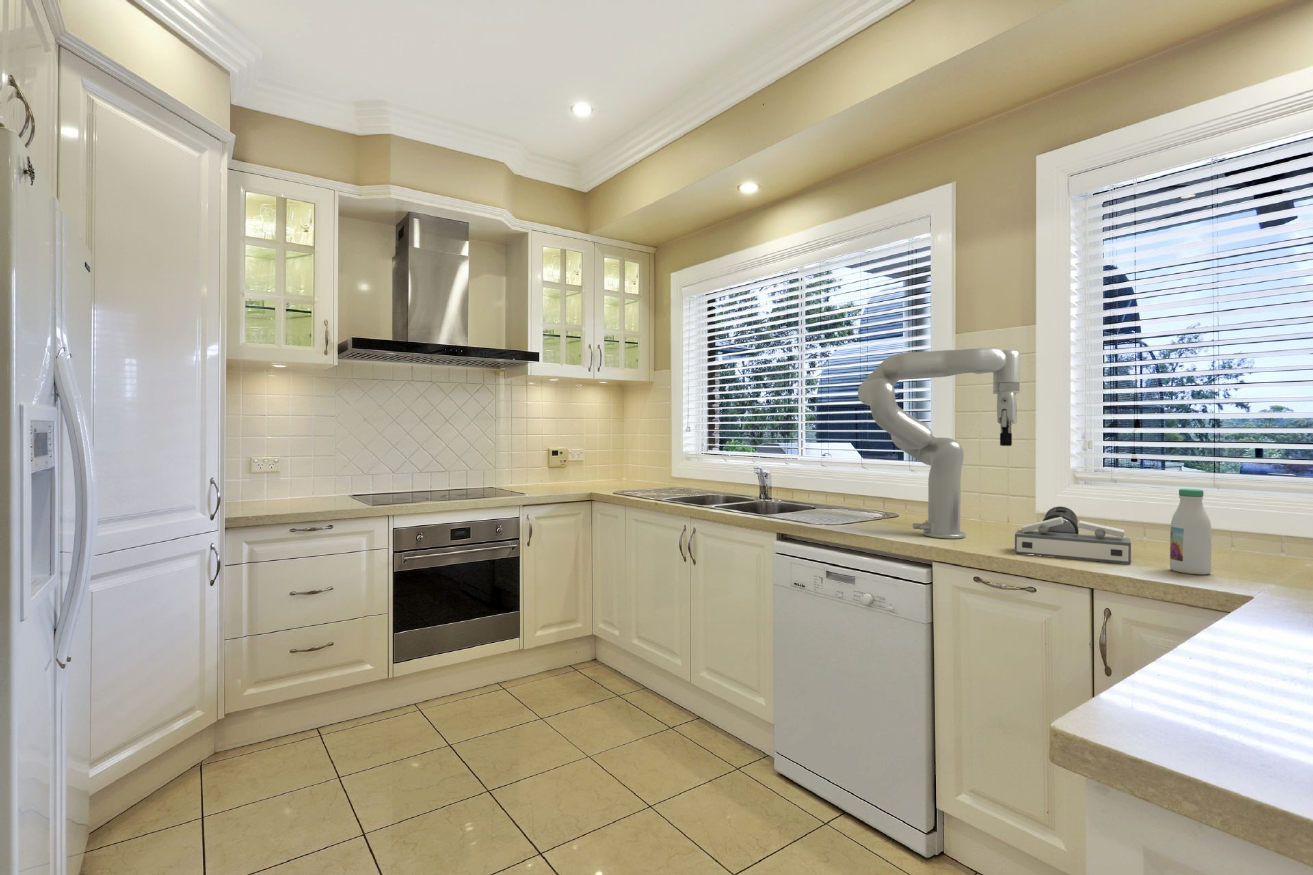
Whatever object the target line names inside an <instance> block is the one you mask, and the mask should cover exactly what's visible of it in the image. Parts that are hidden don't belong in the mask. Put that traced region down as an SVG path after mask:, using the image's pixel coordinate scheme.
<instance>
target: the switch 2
mask: <svg viewBox="0 0 1313 875" xmlns="http://www.w3.org/2000/svg"><path fill="white" fill-rule="evenodd" d="M1078 529H1082V530H1087V531H1092V532H1094V535H1095V536H1096V537H1098V538H1103V537H1104V536H1106V535H1110V536H1112V537H1122V538H1124V535H1125V530H1124V529H1121V528H1116V527H1112V526H1106V525H1102V524H1099V523H1098V524H1097V523H1094V522H1089V521H1084V520H1079V522H1078Z"/></svg>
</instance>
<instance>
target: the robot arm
mask: <svg viewBox="0 0 1313 875" xmlns="http://www.w3.org/2000/svg"><path fill="white" fill-rule="evenodd" d="M1020 356H1021V355H1020V353H1019V351H1017V350H1014V349H1003V350H1001V349H1000V348H998V347H979V348H965V349H946V350H945V349H944V350H931V351H912V352H901V353H896V354H892V355H890V356H888V357H886V358H885V359H884V360H883V361H882V362H881V363H880V364H879V365H878V366H877V367H876V368H875V369H874V370H873V371H872V372H871V373H870V374H869V375H868V376H867V377H866V378H865V379H864V380H863V381H862V382H861V384H860V385H859V387H858V390H857V397H858V399H859V401H860V402H861V403H862V404H864V405H865V406H869V408H870V412H871V415H872V419H873V420H874V422H875V423H876V424H877V426H879V428H880V429H882V430H884V431H885V432H886V433H888V434H889V435H890V437H891V438H890V439H891V441H892V442H893V444H894V445H895V446H896V447H897V448H898V449H900V450H902V452H905V453H906V454H908V455H909V456H910V457H913V458H914V459H915V460H917V461H918V462H920V463H922V464H924V465H927V466H929V467H930V469H929V472H928V482H927V484H928V485H927V487H928V488H927V489H928V490H927V491H928V496H927V498H928V499H927V500H928V501H927V502H928V507H927V509H928V511H927V513H928V514H927V515H928V518H927V519H928V520H927V519H926V520H925V521H923V522H922V523H919V522H913V523H912V529H913V530H922V534H923V535H924V536H926V537H931V538H937V539H949V540H950V539H952V540H954V539H964V538H965V537H967V536H966V535H967V534H966V532H964V531H961V481H962V480H961V477H962V467H963V464H964V463H963V462H964V449H963V447H962V445H961V444H960V443H959V442H958V441H957V440H955V439H953V438H949V437H935V436H934V435H933V431H932V430H931V428H930V427H929V426H928V425H927V424H926V423H925V422H923V421H921V420H919V419H917V418H916V417H914V416H913V415H911V414H909V413H908V412H906V411H905V410H903V409H902V408H901V407H900V406H899V405H898V402H897V401H896V391H895V385H896V384H897V383H898V382H899V381H901V380H912V379H913V380H914V379H915V380H916V379H929V378H930V379H931V378H945V377H952V376H956V375H962V374H971V373H973V374H977V375H978V374H979V375H983V374H989V373H992V378H993V379H992V380H993V381H992V394H994V395H996V417H997V418H996V419H997V421H996V422H997V423H998V424H999V425H1000V432H999V446H1000V447H1002V446H1003V447H1011V446H1013V433H1012V426H1013V425H1012V424H1015V425H1016V424H1017V423H1018V416H1017V415H1018V414H1017V412H1018V407H1017V406H1018V405H1017V394H1020V392H1021V391H1020V388H1021V386H1020V375H1021V372H1020V370H1021V368H1020V365H1021V364H1020V363H1021V362H1020V360H1021V359H1020V358H1021V357H1020Z"/></svg>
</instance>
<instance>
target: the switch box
mask: <svg viewBox="0 0 1313 875" xmlns="http://www.w3.org/2000/svg"><path fill="white" fill-rule="evenodd" d="M1015 553H1019V554H1018V555H1023V554H1034V555H1041V556H1040V557H1044V556H1054V557H1053V558H1055V557H1059V558H1058V559H1065V558H1066V559H1067V560H1068V559H1069V560H1076V559H1081V560H1080V561H1087V560H1089V561H1090V562H1097V561H1102V562H1101V563H1108V562H1109V563H1110V564H1119V563H1123V564H1122V565H1129V564H1131V565H1132V561H1131V560H1132V542H1131V538H1130V537H1118V536H1106V535H1105V536H1104V537H1103V538H1098V537H1096V536H1095V534H1094V535H1093V534H1092V535H1091V534H1079V533H1078V534H1069V533H1055V532H1046V533H1040V532H1039V531H1038V530H1034V531H1029V532H1025V533H1023V532H1022V529H1017V531H1015V533H1014V554H1015Z"/></svg>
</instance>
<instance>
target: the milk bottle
mask: <svg viewBox="0 0 1313 875" xmlns="http://www.w3.org/2000/svg"><path fill="white" fill-rule="evenodd" d="M1204 494H1205V493H1204V490H1203V489H1201V488H1179V489H1178V498H1179V503H1178V506H1177V508H1176V510H1175V512H1174V513H1173V515H1172V516H1171V521H1170V538H1169V539H1170V540H1169V542H1170V543H1169V546H1170V548H1169V567H1170V569H1171V571H1174V572H1176V573H1177V572H1178V573H1183V574H1190V575H1211V573H1212V523H1211V520H1210V516H1209V515H1208V514H1207V512H1206V509H1205V507H1204V504H1203V500H1204Z"/></svg>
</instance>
